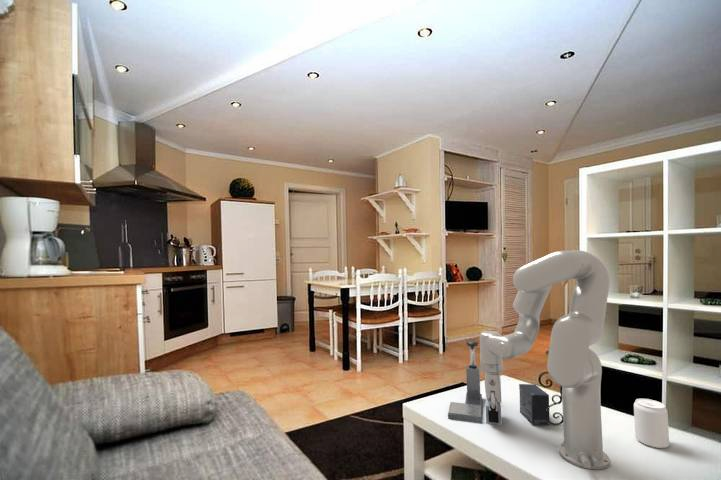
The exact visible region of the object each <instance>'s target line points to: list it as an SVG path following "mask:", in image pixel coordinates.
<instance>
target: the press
mask: <svg viewBox="0 0 721 480" xmlns="http://www.w3.org/2000/svg"><path fill="white" fill-rule="evenodd" d="M480 373H481V368H480V365H476V364H475V368H471V364H466V394H465V401H464V402H465V403H462V402H455V401H450V403H449V409H448V413H447V419H448V420H456V421H463V422H464V421H465V422H471V423H477V424H478V423H479V424H482V423H483V422H482V421H483V420H482V418H483V417H482V416H483V414H482V413H483V412H482V411H483V410H482V409H483V405H482V403H483V396H482V395H483V394H482V393H481V376H480V375H481V374H480Z"/></svg>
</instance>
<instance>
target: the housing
mask: <svg viewBox="0 0 721 480" xmlns="http://www.w3.org/2000/svg"><path fill="white" fill-rule="evenodd" d="M490 401H491V400H490ZM484 403H485V420H486V421H485V422H486V424H488V425H489V424H491V425H497V426H502V407H501V403H498V402H497V410H498V419H499V422H498V423H494V422H489V415H488V409H489V402H488V401H487V399H486V400H485V402H484ZM490 405H491V403H490ZM495 405H496V404H495Z"/></svg>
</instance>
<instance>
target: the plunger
mask: <svg viewBox="0 0 721 480" xmlns="http://www.w3.org/2000/svg"><path fill="white" fill-rule="evenodd" d="M465 343H466V346H467V347H469V359H470V360H469V361H470V363H469V364H470V365H471V368H475V365H476V352H475V349H476V348H475V347H478V346H479V342H478V341H476V340H466V342H465Z"/></svg>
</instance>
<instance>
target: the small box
mask: <svg viewBox="0 0 721 480" xmlns="http://www.w3.org/2000/svg"><path fill="white" fill-rule="evenodd" d="M518 387H519V413H520V414H521V415H522V416H523V417H524V418H525V419H526V420H527V421H528V422H529V423H530V424H531V425H532V426H550V424H551V422H550V420H551V419H550V394H548V393H547V392H545V390H543V389H542V388H540V386H538V385H537V384H525V383H519V384H518ZM548 407H549V408H548ZM547 408H548V409H547ZM546 409H547V411H546Z"/></svg>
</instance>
